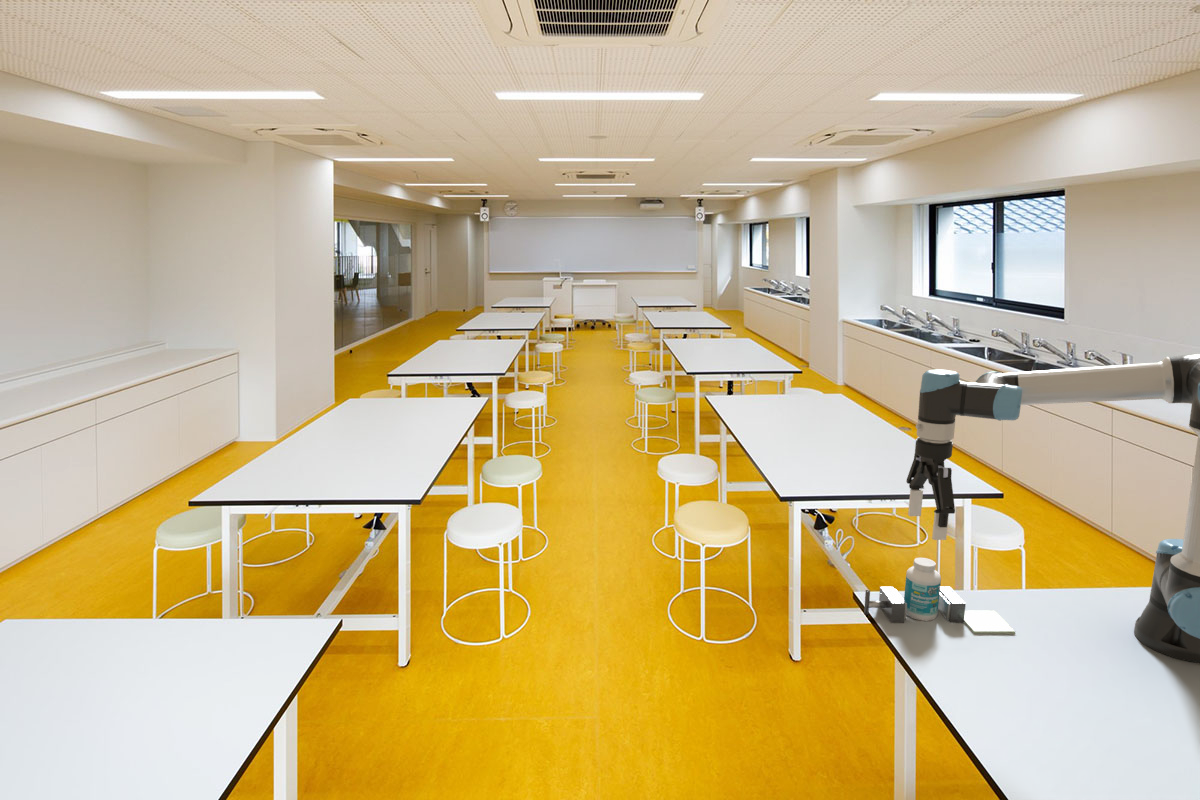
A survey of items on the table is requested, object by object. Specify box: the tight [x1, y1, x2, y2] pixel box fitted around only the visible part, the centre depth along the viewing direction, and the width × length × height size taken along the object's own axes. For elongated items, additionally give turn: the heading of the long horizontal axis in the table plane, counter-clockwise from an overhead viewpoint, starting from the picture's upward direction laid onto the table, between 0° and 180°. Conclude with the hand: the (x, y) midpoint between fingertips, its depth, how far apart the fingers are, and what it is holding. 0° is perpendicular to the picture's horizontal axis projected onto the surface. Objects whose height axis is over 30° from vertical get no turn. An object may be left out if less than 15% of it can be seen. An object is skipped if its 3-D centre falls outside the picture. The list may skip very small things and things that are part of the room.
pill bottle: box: [903, 557, 942, 622], centre depth 161 cm, size 8×7×14 cm
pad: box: [963, 610, 1016, 635], centre depth 158 cm, size 9×9×1 cm
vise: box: [863, 586, 966, 624], centre depth 162 cm, size 21×8×7 cm, turn 87°
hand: (926, 527), depth 158 cm, fingers open, 13 cm apart
